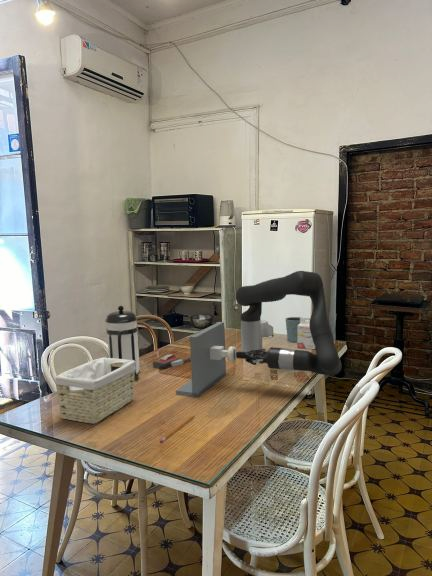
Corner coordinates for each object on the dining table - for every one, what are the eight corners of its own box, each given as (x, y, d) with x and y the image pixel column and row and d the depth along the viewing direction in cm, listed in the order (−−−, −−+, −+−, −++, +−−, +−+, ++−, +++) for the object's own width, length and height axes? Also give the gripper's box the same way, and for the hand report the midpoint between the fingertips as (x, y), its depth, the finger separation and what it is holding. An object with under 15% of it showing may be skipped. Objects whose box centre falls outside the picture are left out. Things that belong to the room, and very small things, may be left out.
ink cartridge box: (297, 348, 212) (296, 319, 210) (299, 345, 216) (299, 317, 214) (314, 349, 208) (314, 320, 206) (316, 347, 212) (316, 318, 211)
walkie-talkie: (164, 372, 183) (194, 360, 198) (163, 362, 182) (194, 351, 198) (150, 368, 188) (181, 357, 204) (149, 359, 188) (180, 348, 203)
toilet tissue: (277, 336, 238) (276, 321, 237) (256, 339, 232) (256, 323, 231) (268, 333, 246) (268, 318, 245) (248, 336, 240) (247, 321, 239)
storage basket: (102, 394, 159) (100, 355, 157) (139, 399, 152) (137, 359, 150) (55, 420, 137) (51, 376, 135) (96, 428, 130) (93, 381, 129)
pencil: (162, 443, 119) (196, 416, 136) (161, 439, 119) (194, 413, 136) (160, 444, 120) (194, 417, 136) (158, 440, 120) (192, 414, 137)
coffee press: (97, 379, 175) (92, 307, 172) (129, 369, 187) (125, 301, 183) (121, 388, 164) (116, 311, 160) (154, 377, 175) (150, 305, 172)
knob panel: (235, 375, 174) (233, 322, 171) (208, 398, 150) (206, 337, 147) (206, 372, 179) (204, 321, 176) (176, 394, 155) (173, 335, 153)
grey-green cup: (297, 344, 219) (296, 321, 218) (281, 341, 227) (281, 318, 226) (309, 340, 226) (308, 318, 225) (293, 337, 234) (293, 315, 232)
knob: (237, 359, 161) (237, 345, 161) (232, 363, 156) (231, 348, 155) (223, 358, 164) (222, 343, 163) (217, 362, 158) (216, 347, 158)
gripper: (286, 343, 157) (242, 340, 164) (277, 353, 145) (229, 349, 152) (287, 363, 158) (242, 359, 165) (277, 374, 146) (230, 369, 153)
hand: (236, 354), depth 158 cm, fingers closed
